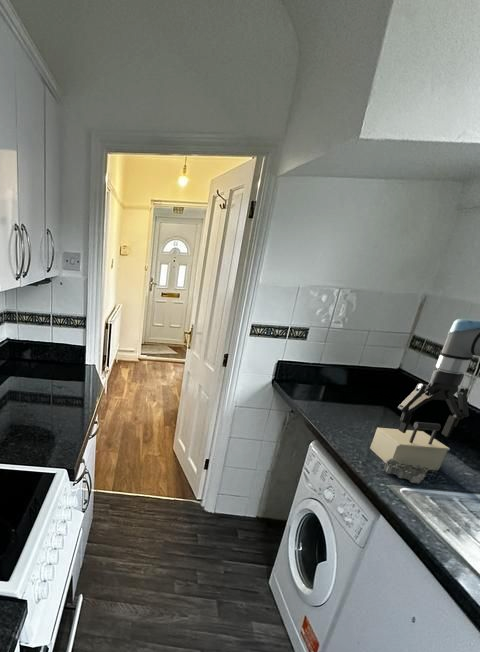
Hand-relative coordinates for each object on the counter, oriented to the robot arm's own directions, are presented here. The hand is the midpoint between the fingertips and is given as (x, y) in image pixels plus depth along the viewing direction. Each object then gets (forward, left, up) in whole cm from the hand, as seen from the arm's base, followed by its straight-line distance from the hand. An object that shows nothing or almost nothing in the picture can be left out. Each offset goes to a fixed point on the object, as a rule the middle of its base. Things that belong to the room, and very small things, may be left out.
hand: (423, 433), depth 136 cm
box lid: (+5, 0, -4) cm, 6 cm away
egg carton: (-8, +7, -12) cm, 16 cm away
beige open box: (+5, 0, -12) cm, 13 cm away
